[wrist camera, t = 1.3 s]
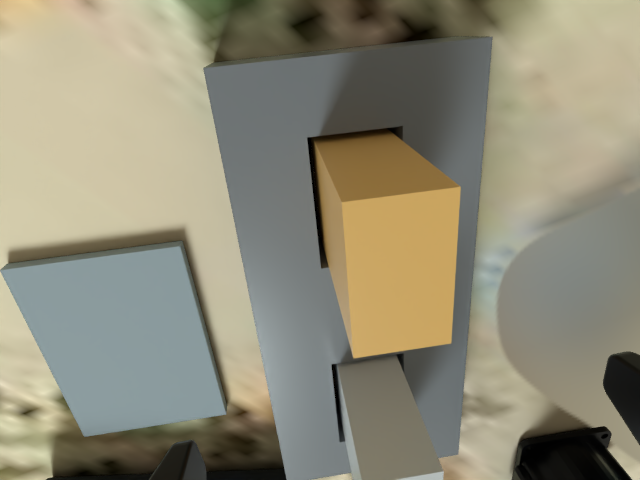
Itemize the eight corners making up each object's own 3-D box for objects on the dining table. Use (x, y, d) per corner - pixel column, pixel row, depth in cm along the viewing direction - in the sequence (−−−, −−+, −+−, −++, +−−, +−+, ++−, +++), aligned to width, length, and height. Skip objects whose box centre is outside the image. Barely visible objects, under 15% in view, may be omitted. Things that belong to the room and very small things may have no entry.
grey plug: (382, 321, 23) (443, 471, 15) (384, 386, 26) (438, 547, 18) (329, 329, 23) (362, 485, 15) (336, 394, 25) (368, 560, 17)
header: (457, 36, 17) (492, 36, 15) (439, 413, 27) (458, 454, 24) (213, 62, 17) (203, 68, 14) (285, 438, 27) (287, 483, 24)
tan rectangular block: (376, 119, 18) (460, 186, 10) (379, 223, 21) (451, 343, 13) (308, 128, 18) (341, 202, 10) (319, 231, 21) (353, 358, 13)
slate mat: (182, 240, 20) (179, 246, 19) (227, 406, 25) (226, 414, 24) (7, 263, 19) (-1, 270, 19) (88, 427, 24) (84, 436, 24)
